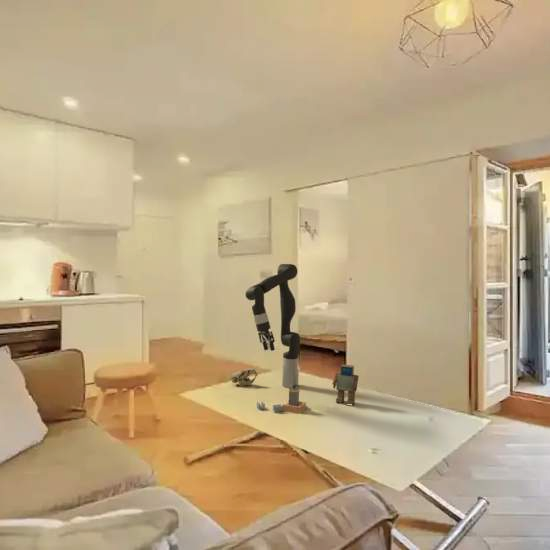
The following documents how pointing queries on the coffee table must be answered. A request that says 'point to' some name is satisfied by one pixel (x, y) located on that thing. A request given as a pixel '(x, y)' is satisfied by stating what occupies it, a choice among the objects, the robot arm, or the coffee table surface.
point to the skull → (243, 377)
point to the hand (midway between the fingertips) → (269, 350)
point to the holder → (294, 407)
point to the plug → (294, 395)
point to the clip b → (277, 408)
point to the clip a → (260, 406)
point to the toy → (346, 383)
